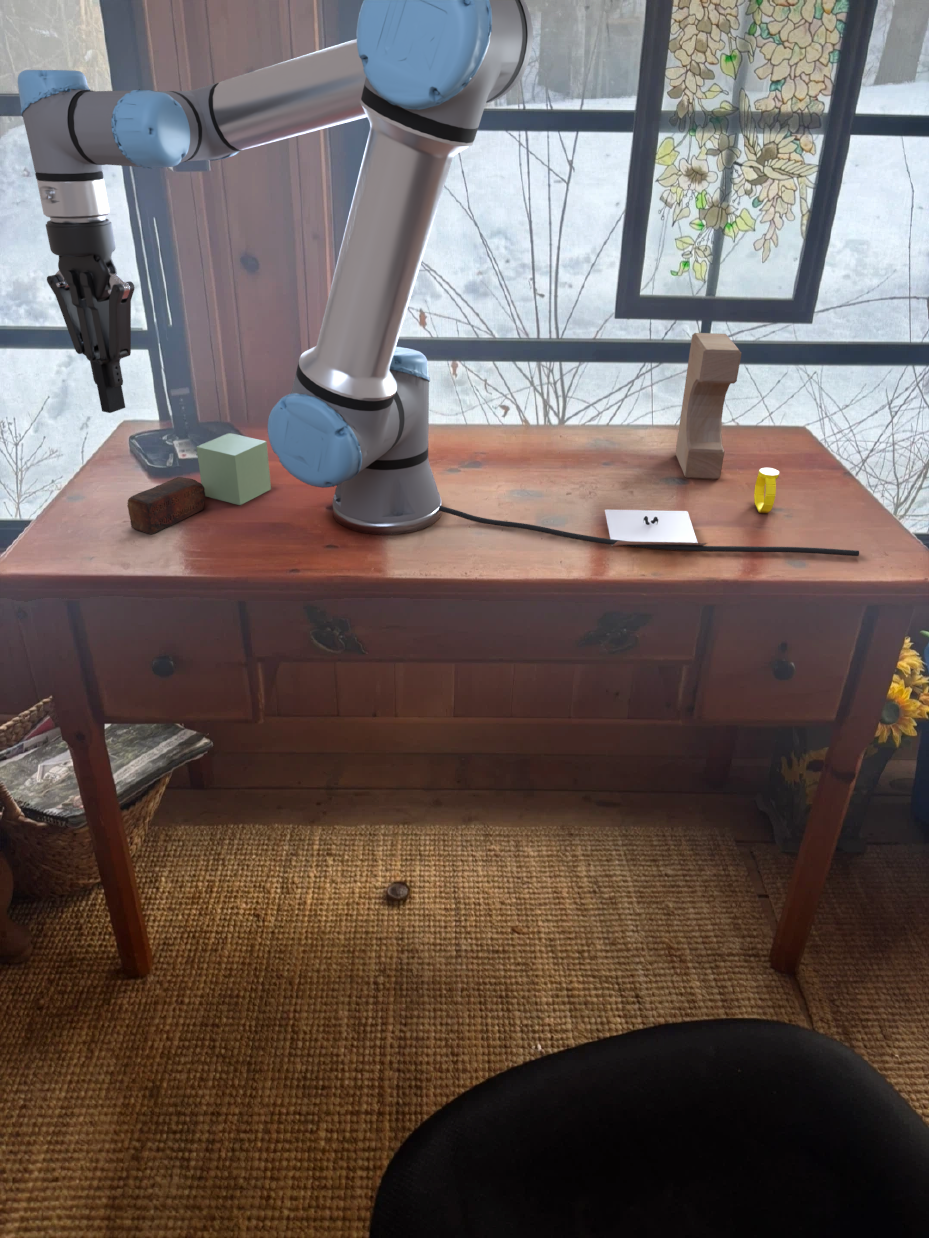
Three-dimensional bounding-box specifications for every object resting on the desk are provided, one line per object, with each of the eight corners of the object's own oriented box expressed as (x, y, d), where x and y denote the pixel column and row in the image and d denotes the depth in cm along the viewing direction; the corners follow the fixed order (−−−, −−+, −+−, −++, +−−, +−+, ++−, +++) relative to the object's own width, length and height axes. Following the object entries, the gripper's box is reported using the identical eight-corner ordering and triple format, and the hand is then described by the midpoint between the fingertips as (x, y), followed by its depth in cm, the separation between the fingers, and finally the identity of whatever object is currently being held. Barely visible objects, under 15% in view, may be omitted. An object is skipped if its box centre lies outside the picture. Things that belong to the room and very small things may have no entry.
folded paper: (686, 518, 130) (688, 505, 129) (706, 556, 119) (708, 542, 118) (602, 516, 130) (603, 503, 129) (614, 554, 119) (616, 541, 118)
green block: (271, 489, 136) (266, 441, 132) (240, 505, 131) (234, 455, 127) (234, 480, 139) (229, 432, 135) (202, 495, 133) (196, 446, 130)
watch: (747, 500, 136) (754, 462, 133) (765, 501, 136) (773, 463, 133) (756, 517, 131) (764, 478, 128) (776, 518, 131) (784, 478, 128)
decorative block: (720, 480, 143) (742, 351, 132) (683, 479, 143) (702, 349, 133) (709, 455, 152) (729, 333, 142) (674, 454, 152) (692, 332, 142)
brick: (153, 536, 121) (147, 504, 119) (131, 530, 123) (125, 497, 120) (208, 509, 129) (204, 478, 127) (186, 503, 131) (182, 472, 129)
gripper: (14, 218, 110) (56, 409, 122) (92, 225, 105) (128, 425, 117) (64, 212, 116) (100, 395, 128) (140, 218, 111) (170, 409, 122)
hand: (113, 409), depth 122 cm, fingers closed
